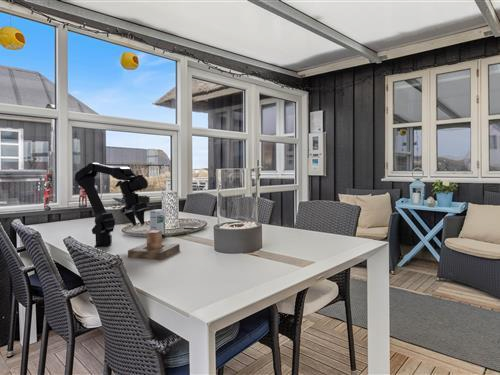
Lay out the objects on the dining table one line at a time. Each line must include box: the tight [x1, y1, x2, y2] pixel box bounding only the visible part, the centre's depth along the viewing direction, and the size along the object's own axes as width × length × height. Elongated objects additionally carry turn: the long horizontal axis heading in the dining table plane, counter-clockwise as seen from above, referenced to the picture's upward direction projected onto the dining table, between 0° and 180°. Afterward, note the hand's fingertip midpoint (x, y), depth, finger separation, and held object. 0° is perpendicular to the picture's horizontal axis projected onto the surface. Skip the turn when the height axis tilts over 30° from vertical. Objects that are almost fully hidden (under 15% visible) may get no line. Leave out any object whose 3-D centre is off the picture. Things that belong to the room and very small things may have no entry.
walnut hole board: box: [127, 242, 181, 261], centre depth 151 cm, size 16×16×3 cm
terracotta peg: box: [146, 230, 163, 250], centre depth 151 cm, size 5×5×10 cm
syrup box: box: [149, 208, 166, 234], centre depth 189 cm, size 6×6×14 cm
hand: (139, 225), depth 161 cm, fingers open, 9 cm apart
